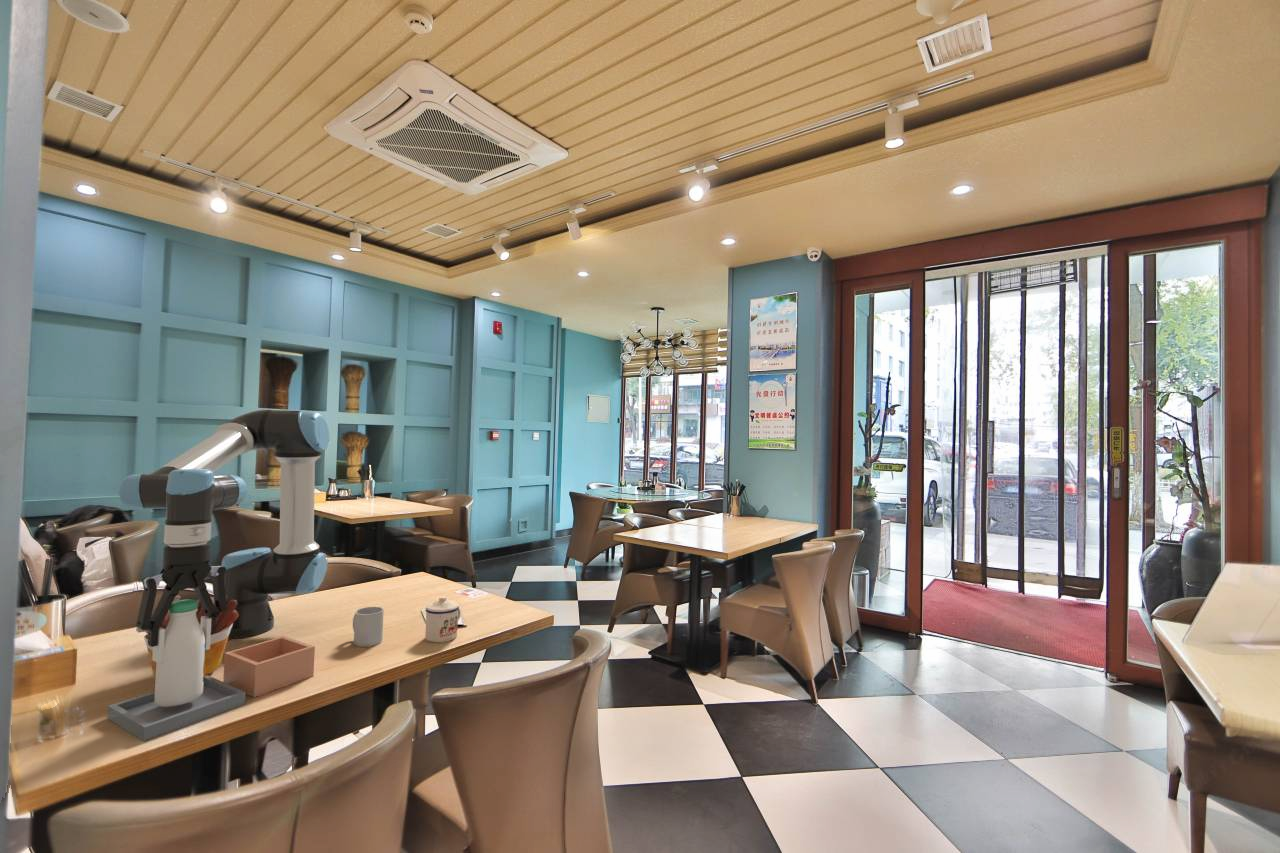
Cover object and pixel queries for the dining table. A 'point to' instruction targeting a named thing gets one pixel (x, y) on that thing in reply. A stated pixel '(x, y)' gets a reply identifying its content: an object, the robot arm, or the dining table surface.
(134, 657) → the dining table surface
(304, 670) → the deep holder
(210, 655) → the bucket of meat
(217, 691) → the tray
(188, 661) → the milk bottle
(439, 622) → the teacup with lid
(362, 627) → the cup
